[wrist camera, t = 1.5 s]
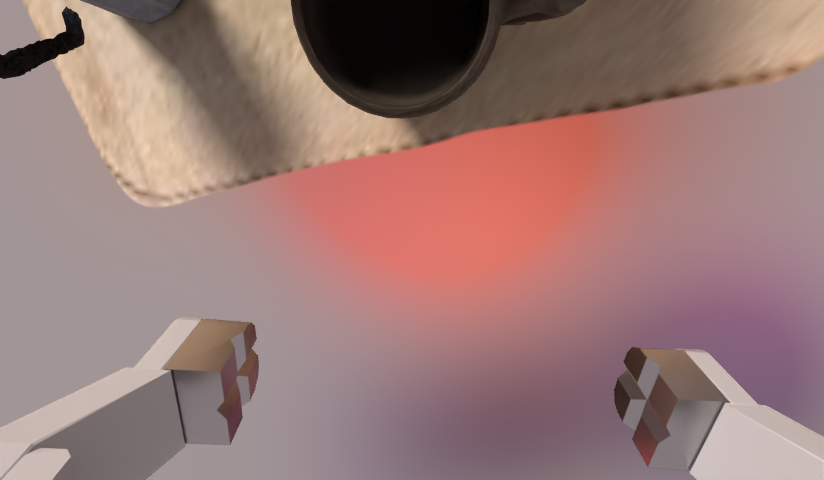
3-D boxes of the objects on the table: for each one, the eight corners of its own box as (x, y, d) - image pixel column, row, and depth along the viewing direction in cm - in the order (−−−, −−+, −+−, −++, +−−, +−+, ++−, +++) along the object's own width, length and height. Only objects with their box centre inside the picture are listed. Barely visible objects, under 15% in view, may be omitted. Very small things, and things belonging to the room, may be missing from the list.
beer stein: (368, 108, 40) (332, 155, 22) (328, -21, 36) (242, -98, 18) (532, 60, 38) (644, 66, 20) (510, -81, 34) (625, -235, 16)
